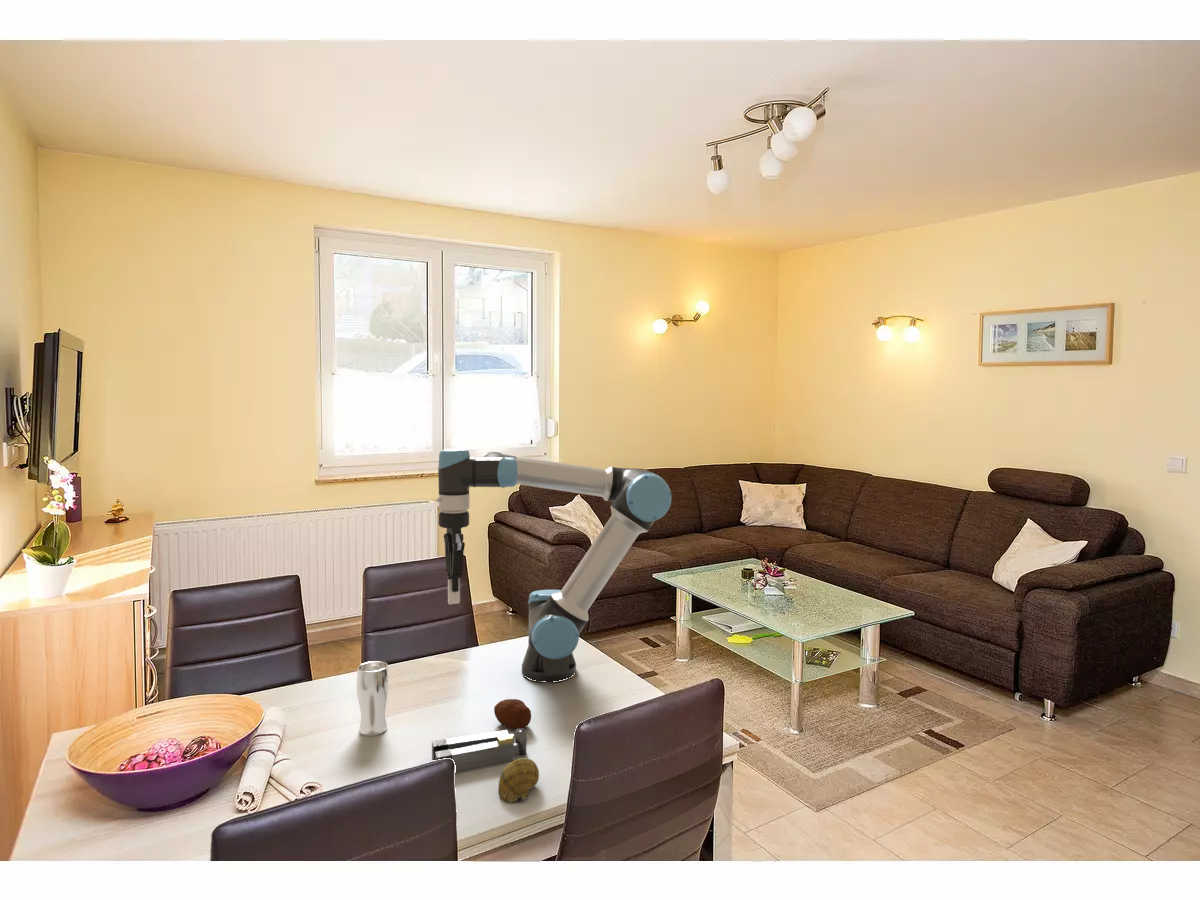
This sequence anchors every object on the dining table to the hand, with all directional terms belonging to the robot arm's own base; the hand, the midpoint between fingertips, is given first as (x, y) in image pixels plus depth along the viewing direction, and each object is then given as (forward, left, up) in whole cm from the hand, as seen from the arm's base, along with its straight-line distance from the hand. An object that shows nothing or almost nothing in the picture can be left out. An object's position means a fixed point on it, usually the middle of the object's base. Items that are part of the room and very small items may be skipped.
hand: (453, 603), depth 181 cm
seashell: (-2, +48, -25) cm, 54 cm away
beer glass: (+21, +11, -25) cm, 34 cm away
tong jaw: (+3, +32, -24) cm, 40 cm away
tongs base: (+2, +35, -24) cm, 43 cm away
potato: (-9, +21, -25) cm, 34 cm away
